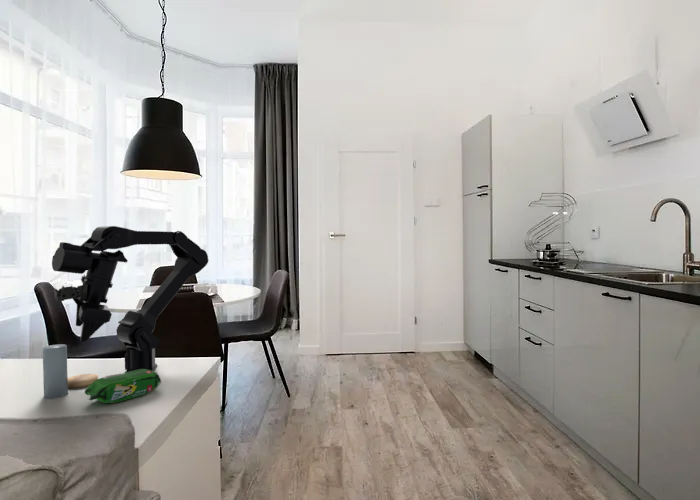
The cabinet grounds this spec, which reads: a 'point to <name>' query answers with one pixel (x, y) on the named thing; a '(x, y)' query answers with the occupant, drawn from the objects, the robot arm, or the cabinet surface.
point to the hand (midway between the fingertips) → (80, 333)
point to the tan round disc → (81, 380)
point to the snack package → (123, 386)
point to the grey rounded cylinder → (55, 371)
